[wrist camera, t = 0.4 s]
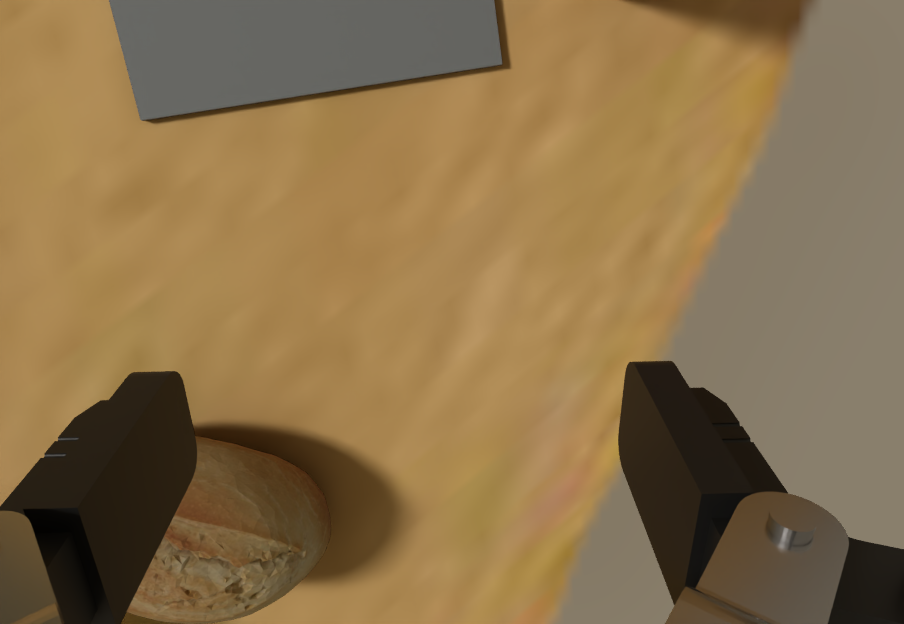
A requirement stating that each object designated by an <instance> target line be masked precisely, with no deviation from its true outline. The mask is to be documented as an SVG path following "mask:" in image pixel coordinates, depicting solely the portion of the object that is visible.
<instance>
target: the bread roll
mask: <svg viewBox="0 0 904 624" xmlns="http://www.w3.org/2000/svg"><path fill="white" fill-rule="evenodd" d="M195 438H196V443H197V464H196V469H195V473H194V476H193V479H192V481H191V483H190V485H189V487H188V489H187V491H186V493H185V495H184V497H183V499H182V501H181V503H180V505H179V507H178V509H177V511H176V513H175V515H174V517H173V519H172V521H171V523H170V525H169V527H168V529H167V531H166V533H165V535H164V537H163V539H162V541H161V543H160V545H159V547H158V549H157V551H156V553H155V555H154V557H153V559H152V561H151V563H150V565H149V567H148V569H147V572H146V574H145V576H144V578H143V580H142V582H141V584H140V586H139V588H138V590H137V592H136V594H135V596H134V598H133V600H132V602H131V604H130V606H129V608H128V610H127V612H128V613H131V614H134V615H137V616H141V617H145V618H149V619H153V620H157V621H164V622H172V623H186V624H194V623H214V622H220V621H227V620H233V619H237V618H241V617H244V616H247V615H250V614H252V613H254V612H256V611H258V610H260V609H262V608H264V607H266V606H268V605H270V604H271V603H273V602H275V601H276V600H278V599H280V598H281V597H283V596H284V595H286V594H287V593H288V592H289V591H290V590H292V589H293V588H294V587H295V586H296V585H297V584H298V583H299V582H300V581H301V580H303V579H304V578H305V577H306V576H307V575H308V573H309V572H310V571H311V570H312V569H313V568H314V566H315V565H316V564H317V563H318V561H319V560H320V558H321V557H322V555H323V553H324V552H325V550H326V549H327V544H328V543H329V540H330V535H331V521H330V514H329V510H328V506H327V503H326V500H325V497H324V494H323V493H322V491H321V490H320V489H319V487H318V486H317V485H316V483H315V482H314V481H313V480H312V478H311V477H310V476H309V475H308V474H307V473H306V472H304V471H303V470H301V469H299V468H298V467H296V466H294V465H293V464H291V463H289V462H287V461H285V460H283V459H281V458H279V457H277V456H275V455H271V454H268V453H264V452H260V451H257V450H253V449H250V448H246V447H243V446H240V445H237V444H233V443H227V442H223V441H218V440H213V439H209V438H204V437H197V436H195Z"/></svg>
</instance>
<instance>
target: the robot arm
mask: <svg viewBox="0 0 904 624" xmlns="http://www.w3.org/2000/svg"><path fill="white" fill-rule="evenodd" d="M618 445H619V456H620V461H621V466H622V469H623V472H624V474H625V477H626V480H627V482H628V485H629V487H630V490H631V492H632V495H633V498H634V501H635V503H636V506H637V508H638V511H639V514H640V516H641V519H642V521H643V524H644V527H645V529H646V532H647V535H648V537H649V540H650V542H651V545H652V548H653V550H654V553H655V556H656V558H657V561H658V563H659V566H660V569H661V571H662V574H663V576H664V579H665V582H666V584H667V587H668V590H669V592H670V595H671V598H672V600H673V603H674V605H675V606H674V608H673V610H672V612H671V613H670V615H669V617H668V619H667V621H666V623H665V624H904V549H899V548H894V547H889V546H884V545H879V544H874V543H869V542H864V541H860V540H856V539H853V538H850V537H848V535H847V533H846V531H845V529H844V527H843V526H842V525H841V523H840V522H839V521H838V520H837V519H836V518H835V517H834V516H833V515H832V514H831V513H829V512H828V511H827V510H825V509H824V508H822V507H820V506H819V505H817V504H815V503H813V502H811V501H809V500H807V499H804V498H802V497H799V496H795V495H792V494H788V492H787V491H786V489H785V488H784V486H783V485H782V484H781V482H780V481H779V479H778V478H777V476H776V475H775V473H774V472H773V471H772V469H771V468H770V466H769V465H768V463H767V462H766V460H765V459H764V457H763V456H762V454H761V453H760V452H759V450H758V449H757V447H756V446H755V444H754V443H753V442H750V437H749V436H748V434H747V433H746V431H745V430H744V428H743V427H742V426H740V425H739V421H738V420H737V418H736V417H735V415H734V414H733V412H732V411H731V410H730V408H729V407H728V405H727V404H726V403H725V402H723V401H722V400H720V399H719V398H718V397H716V396H715V395H713V394H712V393H710V392H709V391H708V390H706V389H705V388H689V386H688V384H687V383H686V381H685V380H684V378H683V376H682V375H681V373H680V372H679V370H678V368H677V367H676V365H675V364H674V363H673V362H672V361H648V362H629V364H628V365H627V368H626V372H625V380H624V389H623V398H622V407H621V416H620V425H619V436H618ZM196 464H197V443H196V438H195V434H194V429H193V424H192V420H191V415H190V411H189V406H188V402H187V397H186V392H185V388H184V384H183V380H182V378H181V376H180V374H179V373H178V372H175V371H165V372H133V373H131V374H129V376H128V377H127V378H126V379H125V380H124V382H123V383H122V384H121V385H120V387H119V388H118V389H117V390H116V392H115V393H114V394H113V396H112V397H111V398H110V399H109V400H102V401H99V402H98V403H96V404H95V405H93V406H92V407H90V408H89V409H87V410H86V411H84V412H83V413H81V414H80V415H78V416H77V417H75V418H74V419H73V420H72V421H71V423H70V424H69V425H68V426H67V427H66V429H65V430H64V431H63V432H62V433H61V435H60V436H59V437H58V441H55V442H54V443H53V444H52V445H51V447H50V448H49V449H48V450H47V451H46V453H45V457H44V458H40V460H39V461H38V462H37V463H36V464H35V466H34V467H33V468H32V469H31V470H30V472H29V473H28V474H27V475H26V476H25V478H24V479H23V480H22V481H21V482H20V484H19V485H18V486H17V487H16V488H15V490H14V491H13V492H12V493H11V494H10V495H9V497H8V498H7V499H6V500H5V501H4V503H3V504H2V505H1V506H0V624H121V622H122V620H123V618H124V616H125V614H126V612H127V610H128V608H129V606H130V604H131V602H132V600H133V598H134V596H135V594H136V592H137V590H138V588H139V586H140V584H141V582H142V580H143V578H144V576H145V574H146V572H147V569H148V567H149V565H150V563H151V561H152V559H153V557H154V555H155V553H156V551H157V549H158V547H159V545H160V543H161V541H162V539H163V537H164V535H165V533H166V531H167V529H168V527H169V525H170V523H171V521H172V519H173V517H174V515H175V513H176V511H177V509H178V507H179V505H180V503H181V501H182V499H183V497H184V495H185V493H186V491H187V489H188V487H189V485H190V483H191V481H192V479H193V476H194V473H195V469H196Z"/></svg>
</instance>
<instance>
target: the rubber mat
mask: <svg viewBox="0 0 904 624" xmlns="http://www.w3.org/2000/svg"><path fill="white" fill-rule="evenodd" d="M109 2H110V6H111V10H112V13H113V17H114V21H115V25H116V29H117V32H118V36H119V40H120V44H121V48H122V51H123V55H124V59H125V63H126V66H127V70H128V74H129V78H130V82H131V85H132V89H133V93H134V97H135V101H136V104H137V108H138V112H139V116H140V120H142V121H145V120H152V119H158V118H164V117H171V116H177V115H184V114H190V113H197V112H203V111H210V110H216V109H222V108H229V107H235V106H242V105H248V104H255V103H261V102H267V101H274V100H280V99H287V98H293V97H300V96H306V95H313V94H319V93H325V92H332V91H338V90H345V89H351V88H358V87H364V86H370V85H377V84H383V83H390V82H396V81H403V80H409V79H416V78H422V77H428V76H435V75H441V74H448V73H454V72H461V71H467V70H473V69H480V68H486V67H493V66H499V65H502V57H501V50H500V42H499V34H498V26H497V18H496V11H495V3H494V0H109Z"/></svg>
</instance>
